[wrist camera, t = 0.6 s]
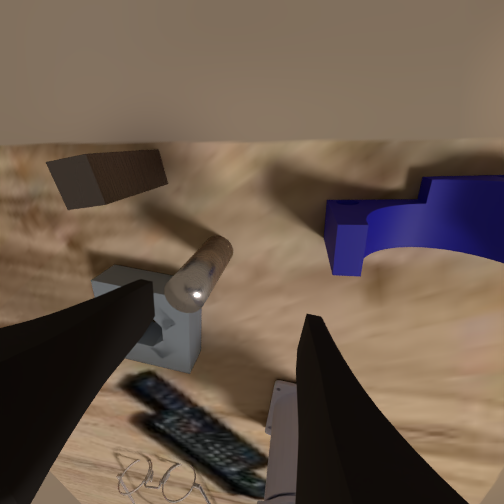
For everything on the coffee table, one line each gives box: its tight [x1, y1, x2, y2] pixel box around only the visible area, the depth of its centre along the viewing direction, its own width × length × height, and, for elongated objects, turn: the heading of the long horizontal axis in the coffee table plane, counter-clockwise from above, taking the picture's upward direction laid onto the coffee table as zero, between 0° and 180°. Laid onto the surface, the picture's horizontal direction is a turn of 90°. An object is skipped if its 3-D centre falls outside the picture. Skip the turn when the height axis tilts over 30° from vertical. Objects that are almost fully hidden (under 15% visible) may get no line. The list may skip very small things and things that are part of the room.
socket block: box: [91, 265, 201, 374], centre depth 24 cm, size 9×9×3 cm
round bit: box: [164, 236, 233, 313], centre depth 18 cm, size 3×3×7 cm
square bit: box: [46, 149, 168, 210], centre depth 16 cm, size 3×3×7 cm
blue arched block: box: [324, 175, 504, 276], centre depth 15 cm, size 12×4×6 cm, turn 93°
